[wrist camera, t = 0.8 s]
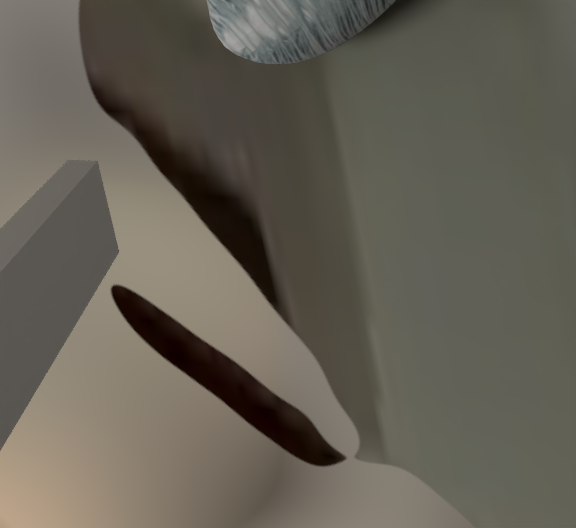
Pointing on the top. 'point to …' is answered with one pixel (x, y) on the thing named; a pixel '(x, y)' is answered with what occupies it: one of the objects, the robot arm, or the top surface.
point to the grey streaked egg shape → (290, 26)
